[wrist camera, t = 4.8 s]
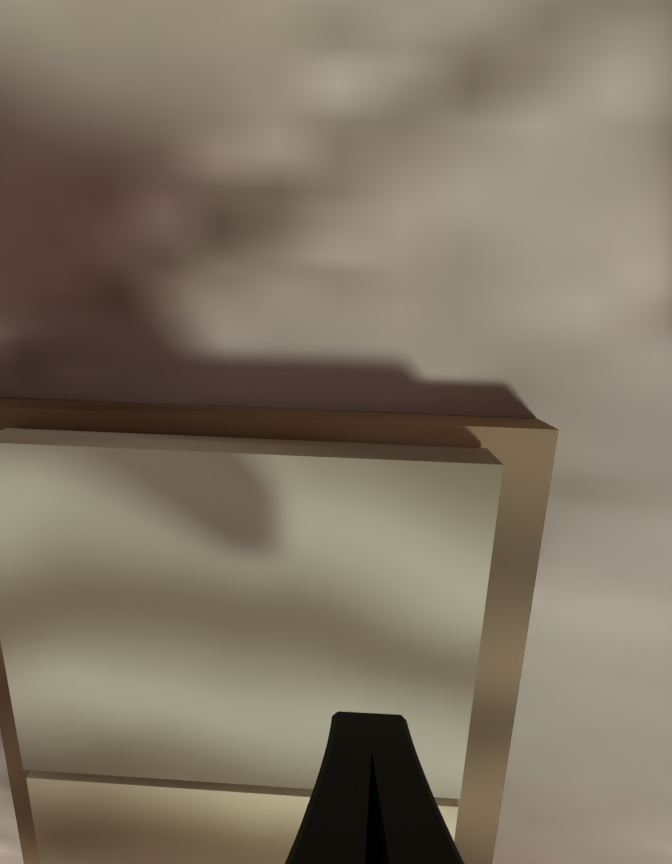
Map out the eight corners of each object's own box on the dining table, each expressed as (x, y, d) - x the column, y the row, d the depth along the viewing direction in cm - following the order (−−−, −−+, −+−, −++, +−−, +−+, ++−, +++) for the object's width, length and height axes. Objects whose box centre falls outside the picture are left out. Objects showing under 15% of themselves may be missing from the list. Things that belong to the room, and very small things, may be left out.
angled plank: (450, 754, 16) (460, 799, 14) (53, 728, 16) (23, 769, 15) (486, 448, 13) (503, 464, 11) (7, 427, 13) (-35, 441, 12)
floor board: (474, 865, 19) (496, 965, 16) (50, 835, 19) (-3, 926, 16) (537, 419, 14) (584, 443, 11) (-16, 396, 15) (-107, 414, 12)
